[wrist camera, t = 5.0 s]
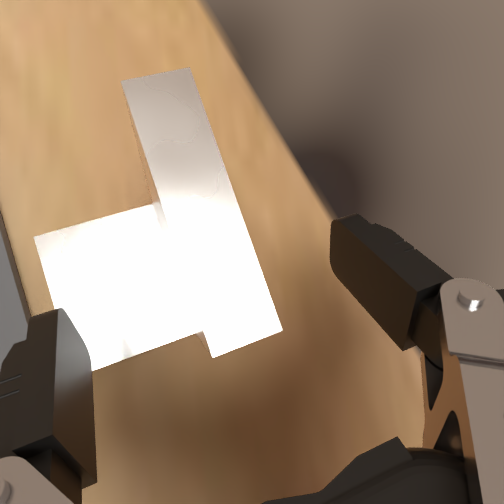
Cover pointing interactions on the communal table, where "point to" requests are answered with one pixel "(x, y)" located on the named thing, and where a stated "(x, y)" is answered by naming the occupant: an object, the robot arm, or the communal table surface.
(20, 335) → the corner mat
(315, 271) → the communal table surface
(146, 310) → the aluminium bracket
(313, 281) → the communal table surface
